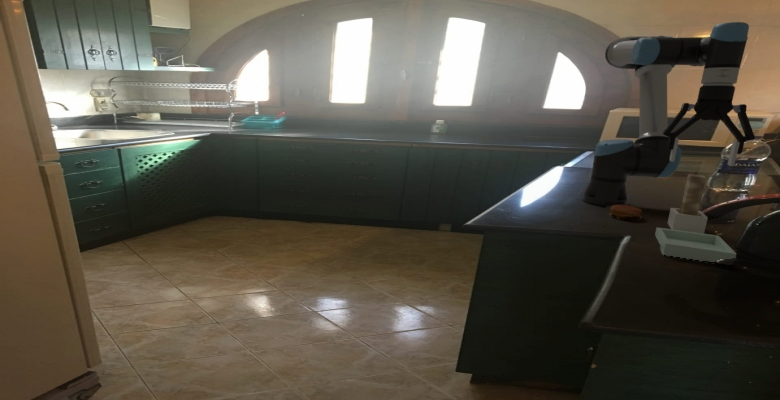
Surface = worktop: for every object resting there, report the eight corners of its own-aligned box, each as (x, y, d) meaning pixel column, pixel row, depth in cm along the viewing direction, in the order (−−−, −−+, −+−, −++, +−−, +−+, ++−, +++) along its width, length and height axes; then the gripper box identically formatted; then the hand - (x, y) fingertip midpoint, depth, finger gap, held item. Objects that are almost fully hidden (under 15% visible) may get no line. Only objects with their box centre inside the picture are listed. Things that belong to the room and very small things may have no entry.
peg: (679, 229, 116) (691, 176, 112) (676, 226, 119) (688, 174, 115) (693, 231, 115) (706, 177, 111) (690, 227, 118) (702, 175, 114)
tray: (663, 255, 99) (665, 243, 98) (654, 238, 112) (656, 227, 111) (733, 266, 94) (736, 253, 93) (715, 247, 106) (718, 235, 105)
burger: (604, 214, 134) (606, 201, 133) (635, 217, 132) (637, 203, 130) (611, 223, 125) (614, 209, 123) (645, 226, 122) (648, 212, 121)
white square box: (671, 233, 116) (675, 213, 114) (666, 226, 122) (670, 207, 121) (702, 237, 113) (707, 217, 111) (696, 230, 119) (700, 211, 118)
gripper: (665, 84, 108) (650, 161, 114) (784, 85, 98) (762, 169, 103) (660, 85, 115) (647, 157, 120) (772, 86, 105) (751, 165, 110)
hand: (700, 163), depth 112 cm, fingers open, 13 cm apart
